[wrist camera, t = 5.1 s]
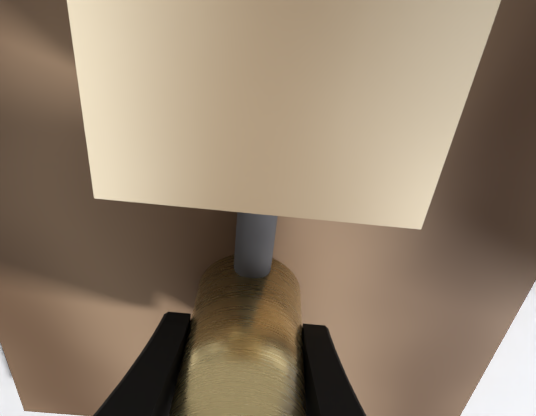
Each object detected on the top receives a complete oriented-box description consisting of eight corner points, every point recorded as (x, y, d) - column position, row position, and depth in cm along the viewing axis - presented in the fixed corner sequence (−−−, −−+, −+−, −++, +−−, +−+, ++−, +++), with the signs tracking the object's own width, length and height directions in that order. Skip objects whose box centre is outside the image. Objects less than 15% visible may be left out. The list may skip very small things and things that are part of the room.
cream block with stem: (442, -149, 7) (647, -238, 3) (325, 335, 14) (343, 512, 10) (145, -185, 7) (-40, -327, 3) (165, 321, 14) (114, 495, 10)
